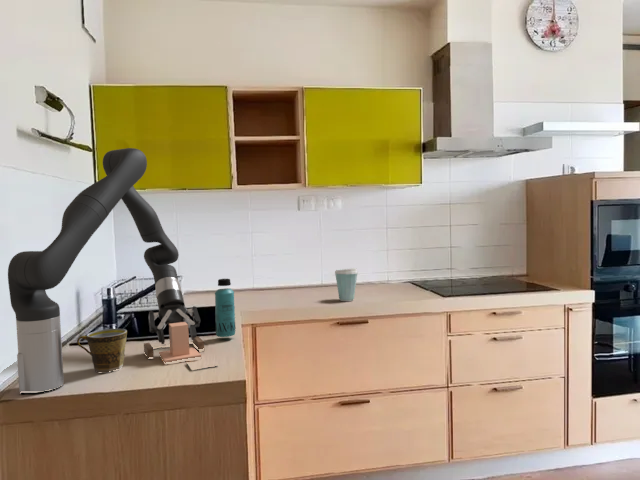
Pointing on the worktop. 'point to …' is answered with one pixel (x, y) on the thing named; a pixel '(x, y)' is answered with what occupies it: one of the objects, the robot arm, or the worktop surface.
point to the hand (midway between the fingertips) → (178, 340)
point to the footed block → (179, 344)
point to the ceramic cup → (106, 348)
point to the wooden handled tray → (149, 352)
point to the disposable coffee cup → (346, 283)
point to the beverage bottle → (224, 310)
